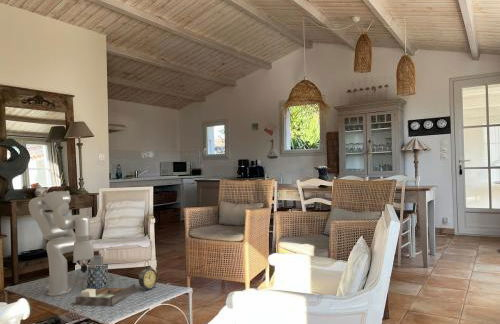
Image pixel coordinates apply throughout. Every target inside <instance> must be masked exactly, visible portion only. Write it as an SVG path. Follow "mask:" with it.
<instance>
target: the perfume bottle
mask: <svg viewBox="0 0 500 324" xmlns="http://www.w3.org/2000/svg"><path fill="white" fill-rule="evenodd" d="M102 255H103V254H102V253H100V250H94V261H91V262H89V267H90V266H91V265H103V266H104V256H102Z"/></svg>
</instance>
